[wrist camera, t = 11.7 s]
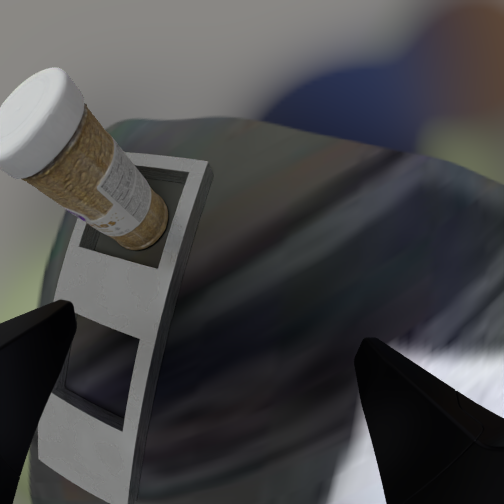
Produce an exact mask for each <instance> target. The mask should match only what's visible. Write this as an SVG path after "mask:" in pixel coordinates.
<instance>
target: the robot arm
mask: <svg viewBox="0 0 504 504" xmlns="http://www.w3.org/2000/svg"><path fill="white" fill-rule="evenodd" d="M76 329H77V322H76V316H75V311H74V305H73V303H72V302H71V301H67V300H63V299H60V300H57V301H55V302H52V303H50V304H47V305H45V306H42V307H40V308H37V309H35V310H32V311H30V312H27V313H25V314H22V315H20V316H17V317H15V318H13V319H10V320H8V321H5V322H3V323H0V504H13V500H14V496H15V493H16V489H17V486H18V482H19V479H20V477H19V476H20V475H21V472H22V468H23V465H24V462H25V459H26V456H27V453H28V450H29V447H30V445H31V442H32V439H33V436H34V434H35V431H36V428H37V426H38V423H39V421H40V418H41V416H42V413H43V411H44V408H45V406H46V404H47V401H48V399H49V397H50V394H51V392H52V390H53V388H54V386H55V383H56V381H57V379H58V377H59V375H60V372H61V370H62V368H63V365H64V362H65V360H66V357H67V354H68V351H69V349H70V346H71V343H72V340H73V338H74V335H75V333H76ZM354 366H355V371H356V376H357V382H358V388H359V394H360V399H361V404H362V408H363V411H364V415H365V419H366V422H367V426H368V429H369V433H370V437H371V441H372V444H373V448H374V452H375V456H376V460H377V464H378V468H379V472H380V476H381V481H382V485H383V489H384V494H385V498H386V503H387V504H504V418H502V417H500V416H498V415H496V414H495V413H493V412H491V411H489V410H487V409H486V408H484V407H482V406H480V405H479V404H477V403H475V402H474V401H472V400H470V399H469V398H467V397H466V396H464V395H463V394H461V393H460V392H458V391H455V389H453V388H452V387H450V386H449V385H447V384H446V383H444V382H443V381H441V380H440V379H438V378H437V377H435V376H434V375H432V374H431V373H429V372H427V371H426V370H424V369H423V368H421V367H420V366H418V365H417V364H415V363H414V362H412V361H411V360H409V359H408V358H406V357H405V356H403V355H402V354H400V353H399V352H397V351H396V350H394V349H393V348H391V347H390V346H388V345H387V344H385V343H384V342H382V341H381V340H379V339H377V338H364V339H363V341H362V342H361V345H360V347H359V349H358V352H357V354H356V356H355V359H354Z"/></svg>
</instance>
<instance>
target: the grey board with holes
mask: <svg viewBox="0 0 504 504" xmlns="http://www.w3.org/2000/svg"><path fill="white" fill-rule="evenodd" d="M124 153H125V154H126V155H127V157H128V158H129V159H130V160H131V162H132V163H133V164H134V165H135V167H136V168H137V169H138V170H139V172H140V173H141V174H142V175H143V177H144V178H150V179H157V180H164V181H171V182H177V183H184V184H185V186H184V189H183V192H182V195H181V198H180V200H179V203H178V206H177V209H176V212H175V215H174V218H173V222H172V225H171V228H170V231H169V234H168V237H167V240H166V244H165V247H164V250H163V254H162V257H161V260H160V264H159V267H158V269H156V268H152V267H148V266H145V265H141V264H138V263H134V262H130V261H127V260H123V259H120V258H116V257H113V256H109V255H106V254H102V253H99V252H95V251H94V249H95V246H96V243H97V240H98V237H99V234H100V231H98V230H96V229H95V228H93V227H92V226H90V225H89V224H87V223H86V222H84V221H83V220H81V219H80V218H78V219H77V222H76V225H75V228H74V231H73V234H72V237H71V240H70V243H69V246H68V249H67V252H66V256H65V259H64V262H63V266H62V270H61V273H60V277H59V281H58V285H57V289H56V293H55V297H54V301H53V302H55V301H57V300H60V299H63V300H67V301H71V302H72V303H73V305H74V311H75V316H76V317H77V314H79V315H81V316H84V317H86V318H88V319H91V320H93V321H95V322H98V323H100V324H102V325H105V326H107V327H110V328H112V329H115V330H117V331H120V332H123V333H125V334H128V335H130V336H133V337H136V338H139V339H140V342H139V346H138V351H137V355H136V360H135V365H134V370H133V375H132V380H131V385H130V390H129V396H128V401H127V407H126V413H125V419H123V418H121V417H119V416H117V415H115V414H113V413H111V412H109V411H106V410H104V409H102V408H100V407H99V406H97V405H95V404H93V403H91V402H89V401H87V400H85V399H83V398H82V397H80V396H78V395H76V394H74V393H73V392H71V391H69V390H67V389H66V388H65V381H66V374H67V367H68V360H69V354H70V349H69V351H68V354H67V357H66V360H65V362H64V365H63V368H62V370H61V372H60V375H59V377H58V379H57V381H56V383H55V386H54V388H53V390H52V392H51V394H50V397H49V399H48V401H47V404H46V406H45V408H44V411H43V413H42V416H41V418H40V421H39V423H38V454H39V460H41V461H42V462H43V463H45V464H46V465H47V466H49V467H50V468H52V469H53V470H55V471H56V472H57V473H59V474H60V475H62V476H63V477H65V478H67V479H68V480H70V481H71V482H73V483H74V484H76V485H78V486H79V487H81V488H83V489H84V490H86V491H88V492H90V493H91V494H93V495H95V496H97V497H99V498H100V499H102V500H104V501H106V502H108V503H110V504H134V503H135V502H136V501H137V497H138V489H139V482H140V475H141V468H142V462H143V456H144V449H145V443H146V438H147V432H148V427H149V421H150V416H151V411H152V405H153V400H154V395H155V391H156V386H157V381H158V376H159V372H160V367H161V363H162V358H163V354H164V350H165V345H166V341H167V337H168V333H169V329H170V324H171V320H172V316H173V312H174V309H175V305H176V301H177V297H178V293H179V289H180V286H181V282H182V278H183V275H184V271H185V267H186V264H187V260H188V257H189V253H190V250H191V246H192V243H193V240H194V236H195V233H196V229H197V226H198V223H199V220H200V216H201V213H202V210H203V207H204V203H205V200H206V197H207V194H208V191H209V188H210V185H211V182H212V179H213V173H212V170H211V168H210V165H209V162H208V161H202V160H194V159H187V158H178V157H170V156H161V155H151V154H141V153H129V152H124ZM70 348H71V346H70Z"/></svg>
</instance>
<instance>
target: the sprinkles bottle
mask: <svg viewBox="0 0 504 504" xmlns="http://www.w3.org/2000/svg"><path fill="white" fill-rule="evenodd" d="M0 169H1V170H2V171H4V172H5V173H7V174H8V175H10V176H11V177H13V178H16V179H22V180H24V181H27V182H28V183H29V184H31V185H32V186H34V187H36V188H37V189H38V190H40V191H41V192H42V193H44V194H45V195H47V196H48V197H50V198H52V199H53V200H54V201H56V202H57V203H58V204H59V205H60V206H61V207H63V208H64V209H66V210H67V211H69V212H70V213H72V214H74V215H75V216H77V217H78V218H80V219H81V220H83V221H84V222H86V223H87V224H89V225H90V226H92V227H93V228H95V229H96V230H98V231H100V232H101V233H103V234H105V235H108V236H109V237H111V238H113V239H115V240H116V241H117V242H118V244H120V245H121V246H123V247H125V248H126V249H130V250H141V249H145V248H148V247H149V246H151V245H153V244H154V243H155V242H156V241H157V240H158V239H159V238H160V237H161V236H162V234H163V232H164V231H165V229H166V226H167V221H168V210H167V206H166V204H165V202H164V201H163V199H162V198H161V197H160V196H159V195H158V194H156V193H155V192H154V191H153V190H152V189H151V187H150V186H149V184H148V182H147V181H146V179H145V178H144V177H143V175H142V174H141V173H140V172H139V170H138V169H137V168H136V167H135V165H134V164H133V163H132V162H131V160H130V159H129V158H128V157H127V155H126V154H125V153H124V151H123V150H122V149H121V148H120V146H119V145H118V144H117V143H116V141H115V140H114V139H113V138H112V136H111V135H110V134H109V133H108V132H106V131H105V130H104V128H103V127H102V126H101V124H100V123H99V122H98V120H97V119H96V118H95V116H94V115H92V113H91V111H90V110H89V109H88V108H87V105H86V104H85V103H84V97H83V95H82V93H81V91H80V90H79V89H78V87H77V86H76V85H75V83H74V82H73V81H72V79H71V78H70V77H69V75H68V74H67V73H66V72H65V71H64V70H63V69H61V68H57V67H53V68H48V69H45V70H42V71H40V72H38V73H36V74H34V75H32V76H31V77H29V78H28V79H27V80H25V81H24V82H23V83H22V84H20V85H19V86H18V87H17V88H16V89H15V90H14V91H13V92H12V93H11V95H10V96H9V97H8V98H7V99H6V100H5V101H4V103H3V104H2V106H1V107H0Z"/></svg>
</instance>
